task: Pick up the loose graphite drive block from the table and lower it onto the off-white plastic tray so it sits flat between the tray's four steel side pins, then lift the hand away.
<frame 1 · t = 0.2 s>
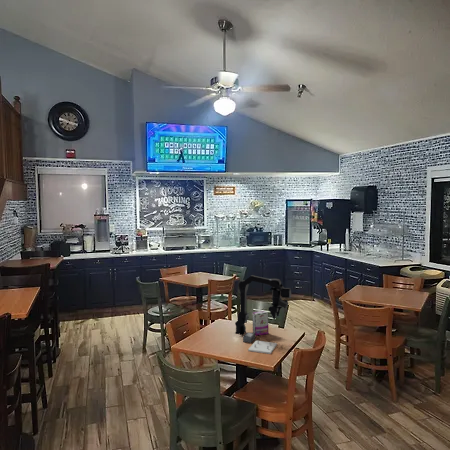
hand: (276, 317, 279), 14 cm above the table, tool pointing down, fingers open, 9 cm apart
candy bar box: (260, 334, 287), on the table
drive: (249, 340, 274), on the table
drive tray: (262, 347, 259), on the table
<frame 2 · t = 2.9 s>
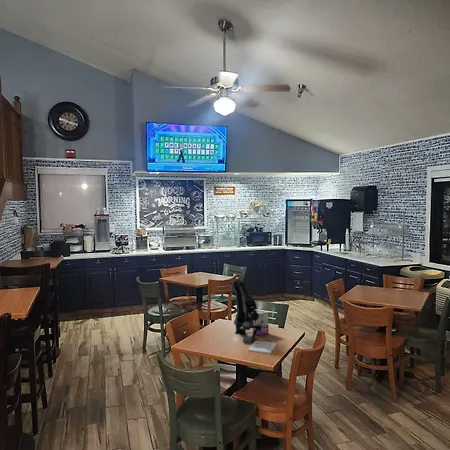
hand: (249, 338, 274), 1 cm above the table, tool pointing down, fingers closed on drive, 6 cm apart
drive: (249, 340, 274), on the table, touching gripper
everything else where it was.
when the fingers open (4 cm above the table, at t = 7.9 s): drive drops 1 cm, resting on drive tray.
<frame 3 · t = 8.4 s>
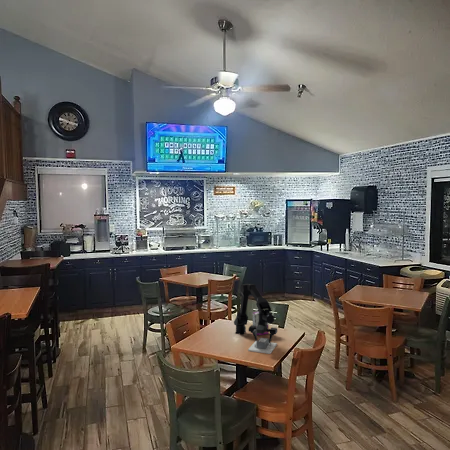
hand: (262, 342, 259), 4 cm above the table, tool pointing down, fingers open, 9 cm apart
drive: (262, 346, 259), point 1 cm above the table, touching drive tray
everything else where it was.
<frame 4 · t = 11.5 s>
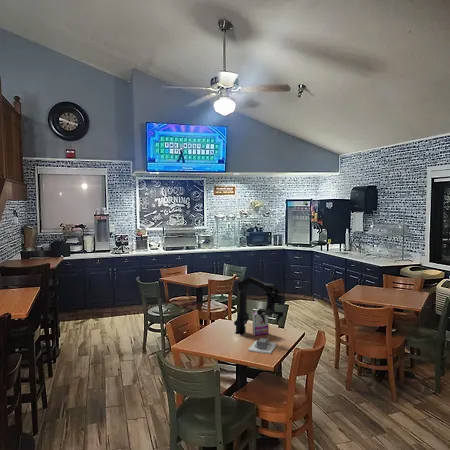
hand: (270, 324, 271), 12 cm above the table, tool pointing down, fingers open, 9 cm apart
nothing on the table moved.
at the end: drive 0.0 cm off-centre on the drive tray, point 1.0 cm above the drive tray's base; drive tilted 0°; the gripper is holding nothing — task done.
